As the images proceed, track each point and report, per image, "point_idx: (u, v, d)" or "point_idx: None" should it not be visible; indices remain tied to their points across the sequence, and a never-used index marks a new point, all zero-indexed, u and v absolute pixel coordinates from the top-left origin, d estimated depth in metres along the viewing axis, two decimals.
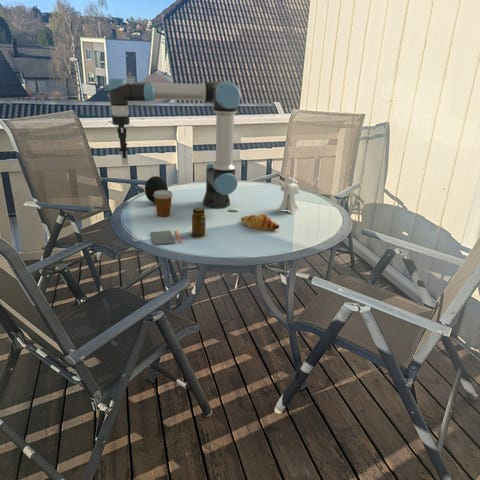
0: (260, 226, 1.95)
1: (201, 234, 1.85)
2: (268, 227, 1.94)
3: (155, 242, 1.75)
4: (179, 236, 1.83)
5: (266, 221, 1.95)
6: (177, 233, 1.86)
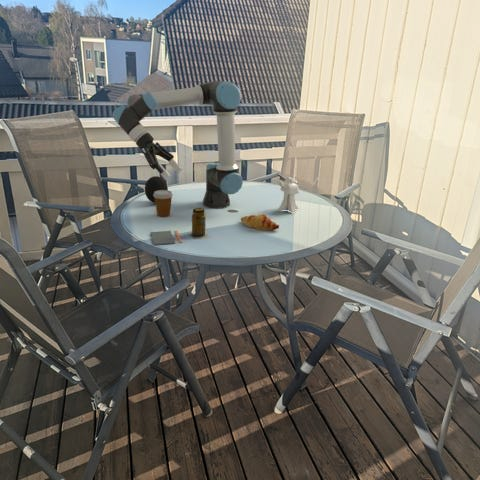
0: (260, 226, 1.95)
1: (201, 234, 1.85)
2: (268, 227, 1.94)
3: (155, 242, 1.75)
4: (179, 236, 1.83)
5: (266, 221, 1.95)
6: (177, 233, 1.86)
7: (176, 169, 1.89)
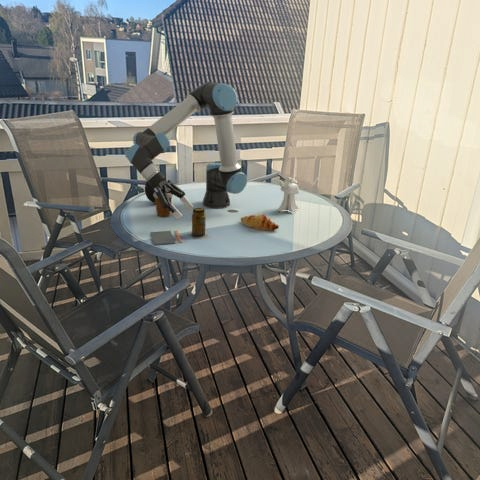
0: (259, 226, 1.95)
1: (201, 234, 1.85)
2: (267, 227, 1.94)
3: (155, 242, 1.75)
4: (179, 236, 1.83)
5: (265, 221, 1.94)
6: (177, 233, 1.86)
7: (187, 206, 1.89)
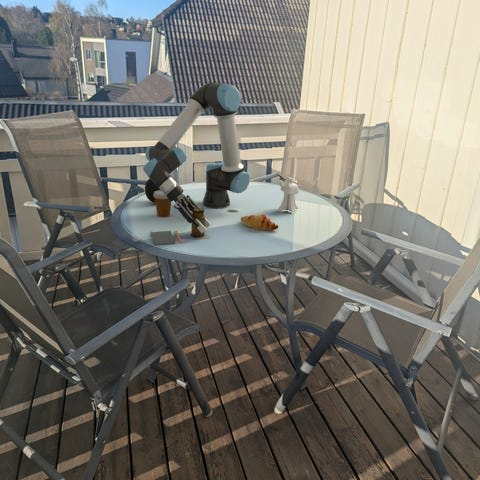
0: (259, 226, 1.94)
1: (200, 234, 1.85)
2: (267, 227, 1.94)
3: (155, 242, 1.75)
4: (179, 236, 1.83)
5: (265, 221, 1.94)
6: (177, 233, 1.86)
7: (205, 224, 1.88)
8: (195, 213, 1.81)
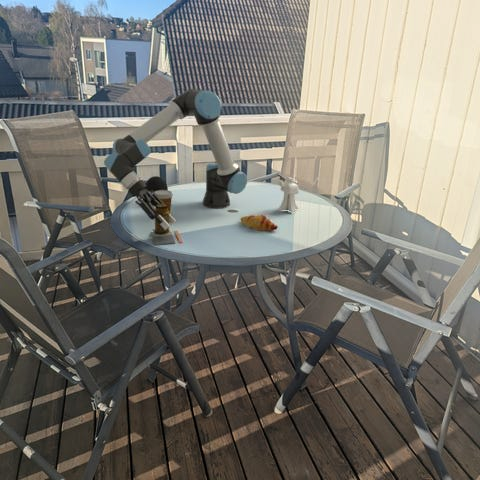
0: (258, 226, 1.94)
1: (164, 231, 1.78)
2: (266, 228, 1.94)
3: (155, 242, 1.75)
4: (179, 236, 1.83)
5: (264, 222, 1.94)
6: (177, 233, 1.86)
7: (170, 221, 1.81)
8: (158, 209, 1.74)
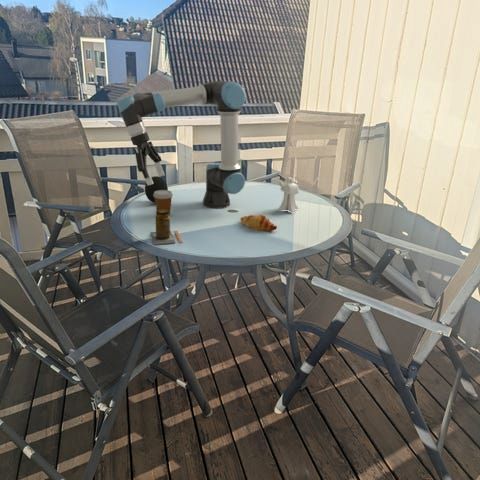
0: (257, 226, 1.94)
1: (165, 237, 1.79)
2: (265, 228, 1.93)
3: (155, 242, 1.75)
4: (179, 236, 1.83)
5: (263, 222, 1.94)
6: (177, 233, 1.86)
7: (159, 173, 1.91)
8: (159, 215, 1.75)
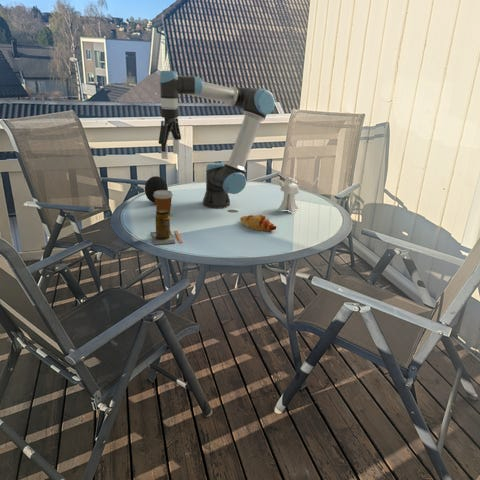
0: (257, 226, 1.94)
1: (165, 237, 1.79)
2: (265, 228, 1.93)
3: (155, 242, 1.75)
4: (179, 236, 1.83)
5: (263, 222, 1.94)
6: (177, 233, 1.86)
7: (174, 150, 1.96)
8: (159, 215, 1.75)
